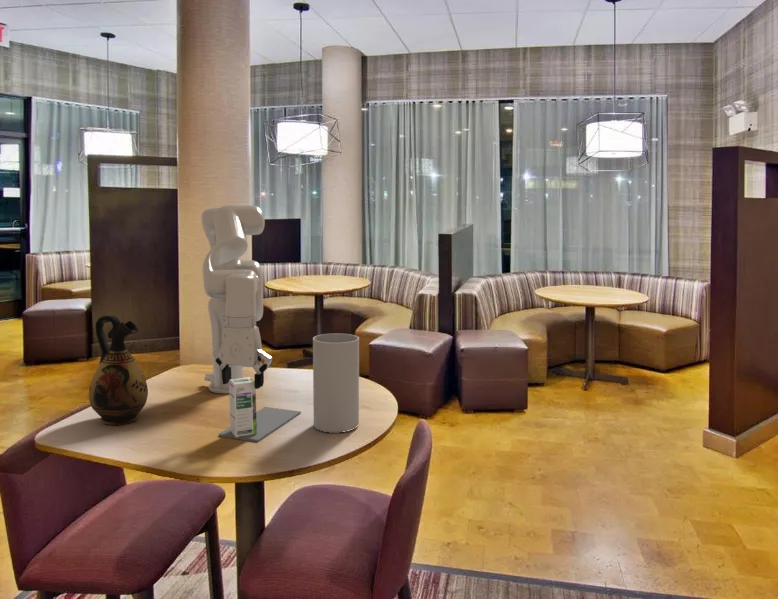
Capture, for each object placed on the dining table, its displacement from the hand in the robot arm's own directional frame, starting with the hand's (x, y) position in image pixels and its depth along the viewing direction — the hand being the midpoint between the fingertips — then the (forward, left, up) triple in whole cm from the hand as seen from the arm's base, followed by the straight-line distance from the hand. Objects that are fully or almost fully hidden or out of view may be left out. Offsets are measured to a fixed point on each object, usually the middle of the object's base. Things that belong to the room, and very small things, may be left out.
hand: (242, 385), depth 166 cm
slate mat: (0, +9, -14) cm, 16 cm away
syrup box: (0, 0, -13) cm, 13 cm away
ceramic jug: (-40, -2, -14) cm, 42 cm away
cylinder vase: (+20, +15, -14) cm, 29 cm away
